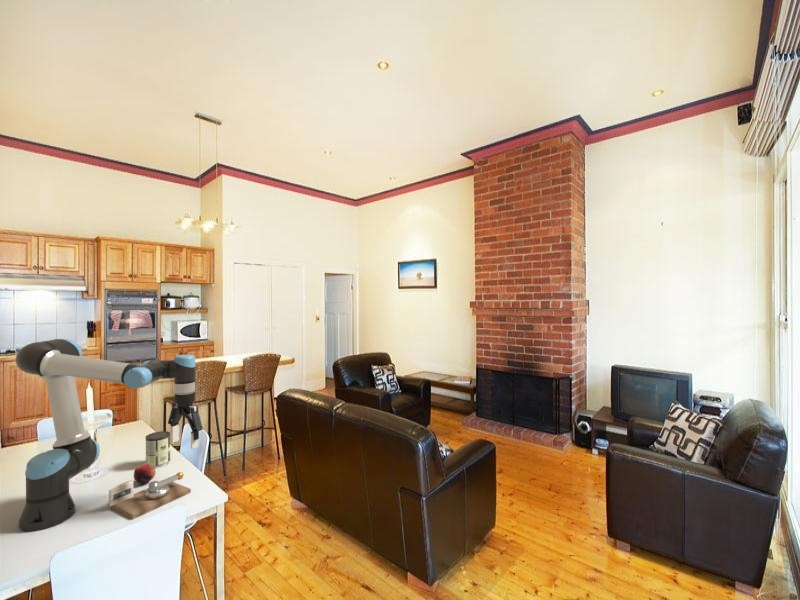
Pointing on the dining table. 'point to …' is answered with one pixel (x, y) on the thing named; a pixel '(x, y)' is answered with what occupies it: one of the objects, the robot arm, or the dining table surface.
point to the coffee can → (158, 449)
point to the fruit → (144, 473)
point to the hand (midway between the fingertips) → (184, 444)
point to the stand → (141, 499)
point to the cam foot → (161, 487)
